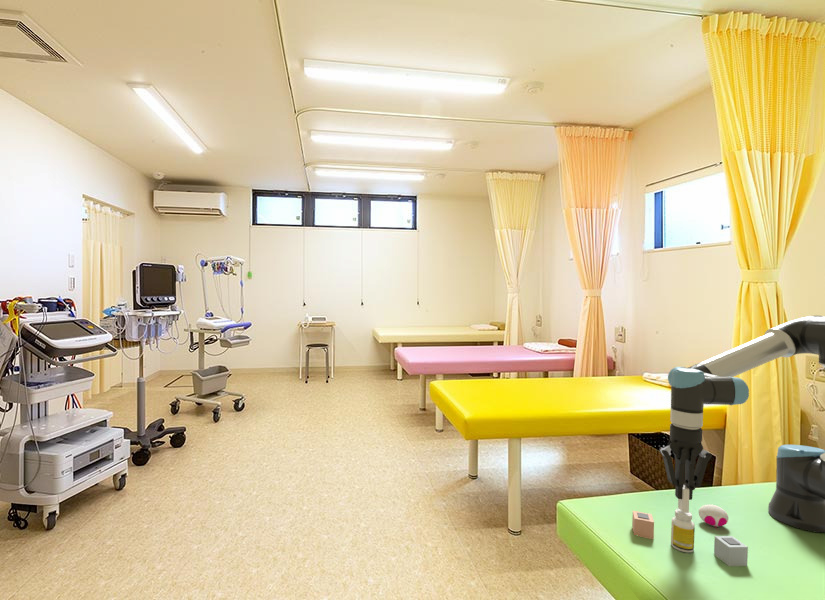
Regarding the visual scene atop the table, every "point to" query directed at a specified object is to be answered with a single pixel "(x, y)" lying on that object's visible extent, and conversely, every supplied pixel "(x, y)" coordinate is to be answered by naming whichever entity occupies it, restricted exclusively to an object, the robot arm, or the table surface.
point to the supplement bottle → (682, 531)
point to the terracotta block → (643, 524)
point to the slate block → (730, 551)
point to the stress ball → (713, 515)
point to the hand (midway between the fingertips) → (683, 510)
